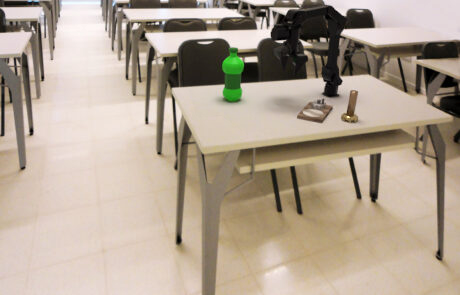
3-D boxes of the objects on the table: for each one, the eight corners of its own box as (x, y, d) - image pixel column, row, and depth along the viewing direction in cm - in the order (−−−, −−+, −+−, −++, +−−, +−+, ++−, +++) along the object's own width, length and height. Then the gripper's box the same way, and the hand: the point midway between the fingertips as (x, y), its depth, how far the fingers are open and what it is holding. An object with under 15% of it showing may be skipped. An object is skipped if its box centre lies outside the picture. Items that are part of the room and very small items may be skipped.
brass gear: (349, 115, 168) (354, 87, 162) (360, 121, 162) (366, 92, 156) (337, 118, 165) (342, 90, 159) (349, 123, 159) (354, 94, 153)
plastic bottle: (245, 102, 180) (247, 50, 169) (223, 103, 178) (224, 51, 167) (240, 95, 189) (242, 45, 178) (219, 96, 187) (220, 46, 176)
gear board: (309, 104, 179) (310, 92, 177) (332, 108, 175) (334, 96, 172) (297, 118, 164) (298, 105, 161) (321, 123, 160) (323, 109, 157)
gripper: (265, 36, 171) (263, 70, 178) (290, 44, 157) (286, 80, 164) (285, 35, 176) (282, 67, 183) (311, 42, 161) (306, 77, 168)
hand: (288, 73), depth 174 cm, fingers open, 9 cm apart
